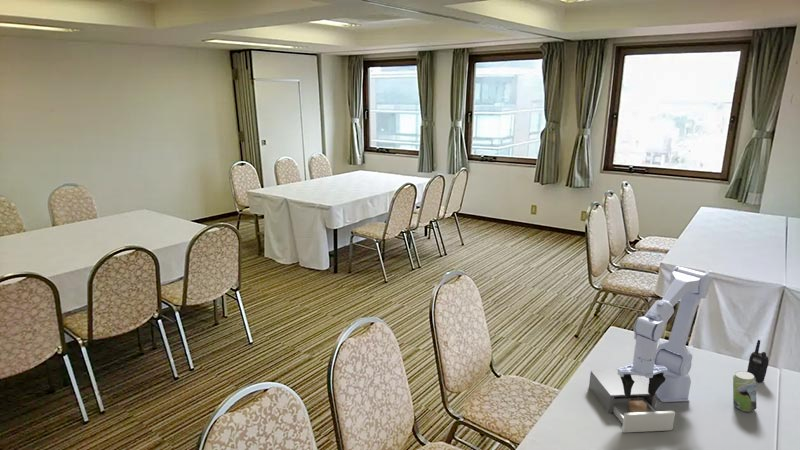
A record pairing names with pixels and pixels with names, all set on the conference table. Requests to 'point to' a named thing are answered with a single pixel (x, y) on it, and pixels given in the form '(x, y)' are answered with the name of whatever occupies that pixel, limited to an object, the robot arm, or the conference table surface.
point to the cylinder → (636, 406)
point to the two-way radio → (758, 364)
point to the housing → (617, 388)
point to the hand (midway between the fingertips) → (639, 394)
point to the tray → (642, 417)
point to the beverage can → (744, 391)
